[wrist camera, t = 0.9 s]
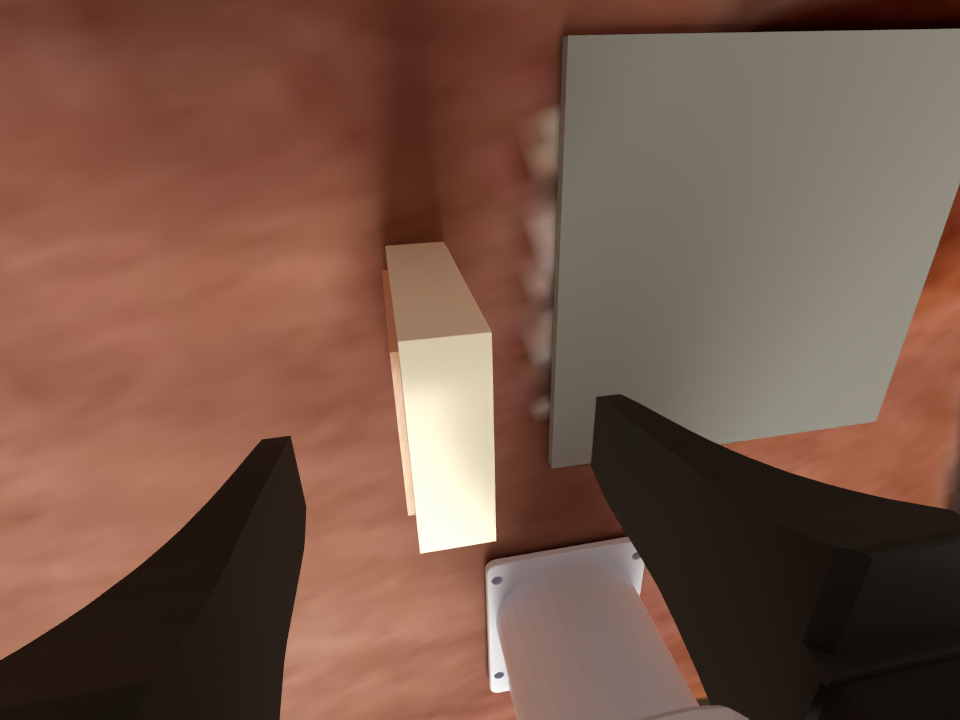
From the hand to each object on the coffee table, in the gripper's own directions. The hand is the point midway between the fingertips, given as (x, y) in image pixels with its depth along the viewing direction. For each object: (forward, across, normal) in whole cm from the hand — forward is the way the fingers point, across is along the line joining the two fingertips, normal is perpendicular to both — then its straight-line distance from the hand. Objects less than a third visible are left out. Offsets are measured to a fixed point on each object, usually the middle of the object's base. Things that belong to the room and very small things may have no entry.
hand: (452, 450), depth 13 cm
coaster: (+8, 0, 0) cm, 8 cm away
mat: (+8, -13, -1) cm, 15 cm away
